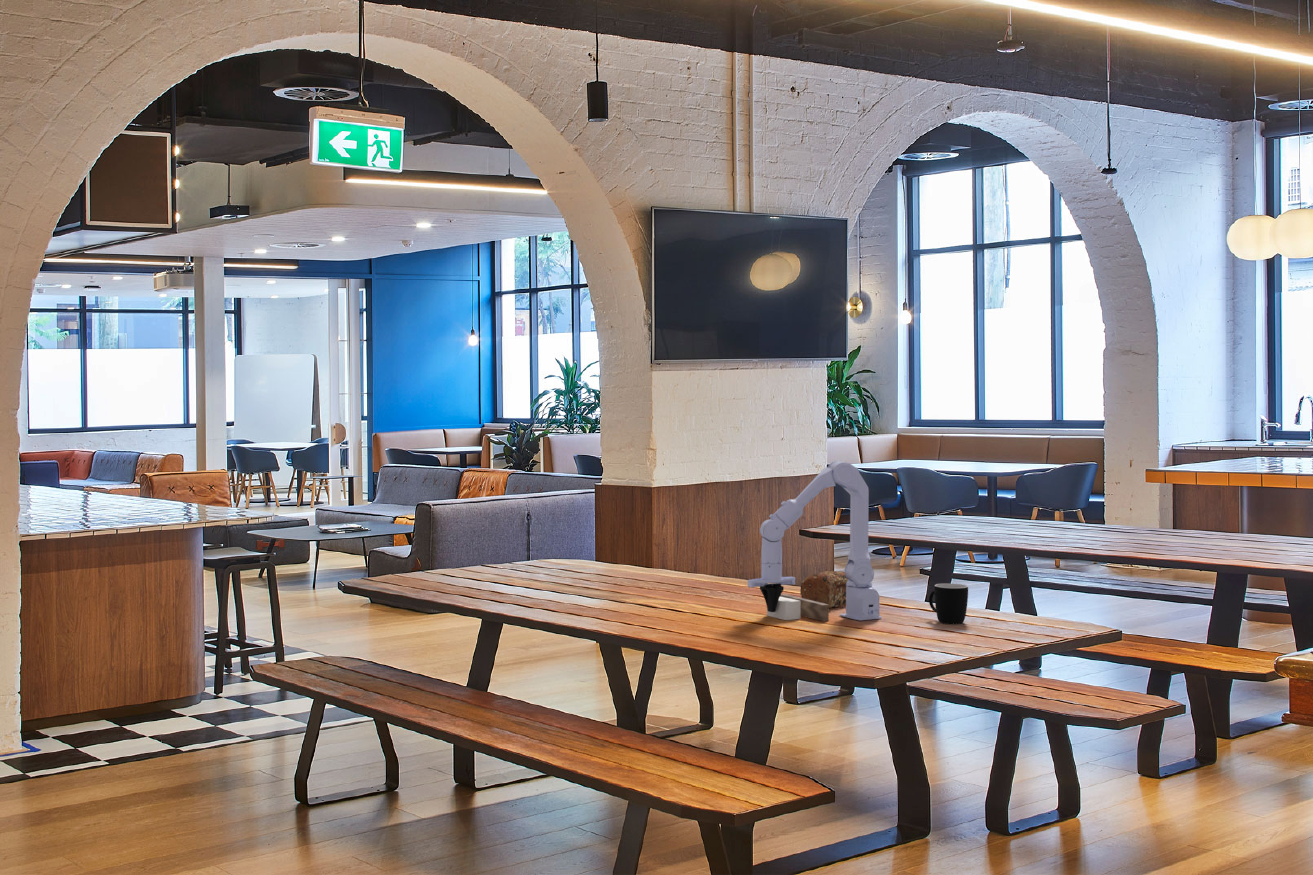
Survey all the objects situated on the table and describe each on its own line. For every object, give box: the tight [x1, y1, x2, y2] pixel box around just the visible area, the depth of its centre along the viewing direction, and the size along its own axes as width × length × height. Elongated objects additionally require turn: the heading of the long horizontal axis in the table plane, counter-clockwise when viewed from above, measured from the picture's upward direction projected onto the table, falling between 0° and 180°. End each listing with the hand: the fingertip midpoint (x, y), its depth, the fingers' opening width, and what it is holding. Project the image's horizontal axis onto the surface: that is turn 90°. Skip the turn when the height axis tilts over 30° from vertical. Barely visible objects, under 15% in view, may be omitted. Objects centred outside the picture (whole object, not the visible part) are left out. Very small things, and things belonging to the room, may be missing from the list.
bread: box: [799, 570, 848, 610], centre depth 382 cm, size 19×11×10 cm, turn 142°
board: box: [780, 593, 830, 622], centre depth 362 cm, size 22×2×4 cm, turn 27°
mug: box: [928, 583, 969, 625], centre depth 351 cm, size 12×9×10 cm
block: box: [766, 597, 801, 621], centre depth 358 cm, size 9×5×5 cm, turn 30°
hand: (771, 611), depth 356 cm, fingers closed
